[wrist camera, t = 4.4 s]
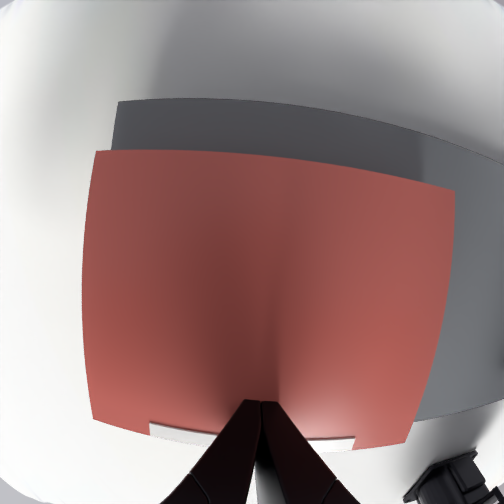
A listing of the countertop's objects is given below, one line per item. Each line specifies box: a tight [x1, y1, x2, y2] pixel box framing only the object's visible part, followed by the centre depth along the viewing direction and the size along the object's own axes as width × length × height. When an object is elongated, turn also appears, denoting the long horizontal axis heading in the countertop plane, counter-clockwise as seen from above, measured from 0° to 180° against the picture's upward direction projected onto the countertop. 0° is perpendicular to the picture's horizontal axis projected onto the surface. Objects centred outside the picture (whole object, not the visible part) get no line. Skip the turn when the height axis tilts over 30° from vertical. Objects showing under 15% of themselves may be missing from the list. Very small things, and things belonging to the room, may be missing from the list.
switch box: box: [111, 98, 504, 422], centre depth 11 cm, size 12×29×5 cm, turn 84°
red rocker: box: [82, 150, 455, 453], centre depth 7 cm, size 8×10×1 cm
